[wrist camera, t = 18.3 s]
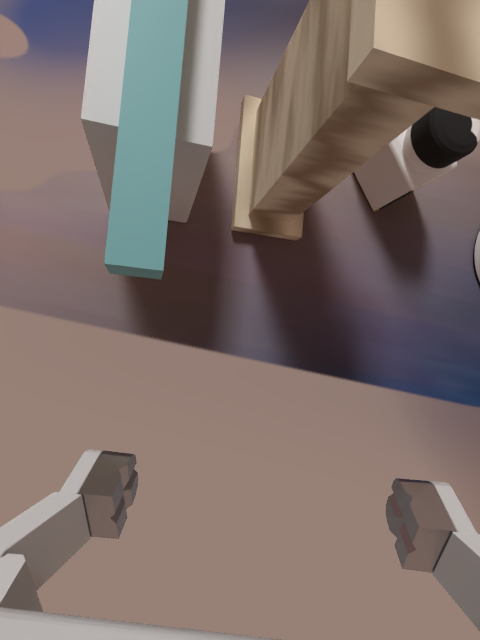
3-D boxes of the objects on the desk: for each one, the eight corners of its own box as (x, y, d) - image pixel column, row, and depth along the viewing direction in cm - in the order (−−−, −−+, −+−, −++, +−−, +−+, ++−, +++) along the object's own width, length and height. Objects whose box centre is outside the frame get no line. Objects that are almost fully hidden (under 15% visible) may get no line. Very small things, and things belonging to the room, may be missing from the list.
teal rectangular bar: (194, -77, 24) (200, -135, 21) (161, 279, 22) (163, 270, 19) (147, -94, 23) (147, -157, 20) (110, 273, 21) (104, 263, 18)
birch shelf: (304, 119, 43) (528, -190, 18) (296, 240, 42) (521, 95, 17) (241, 103, 41) (390, -271, 16) (231, 230, 40) (373, 47, 15)
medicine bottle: (372, 213, 45) (451, 170, 33) (347, 162, 44) (418, 99, 32) (413, 190, 46) (502, 142, 35) (389, 141, 46) (471, 74, 34)
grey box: (198, 92, 40) (230, -65, 24) (186, 223, 39) (212, 146, 23) (123, 73, 38) (106, -111, 22) (109, 210, 37) (81, 118, 21)
